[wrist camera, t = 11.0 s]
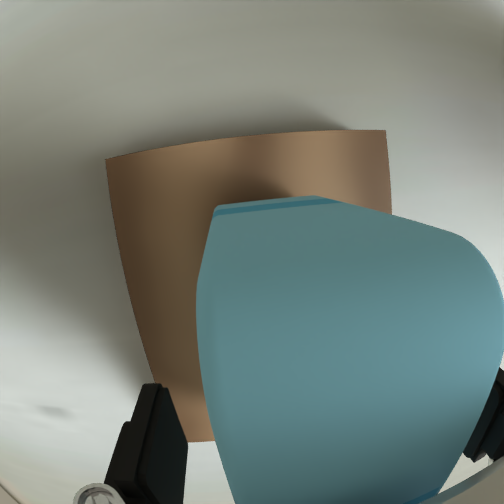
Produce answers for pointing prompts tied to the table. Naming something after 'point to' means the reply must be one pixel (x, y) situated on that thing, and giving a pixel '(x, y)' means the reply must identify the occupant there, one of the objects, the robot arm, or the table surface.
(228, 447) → the data package
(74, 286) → the table surface
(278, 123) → the table surface
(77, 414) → the table surface
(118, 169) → the base plate
